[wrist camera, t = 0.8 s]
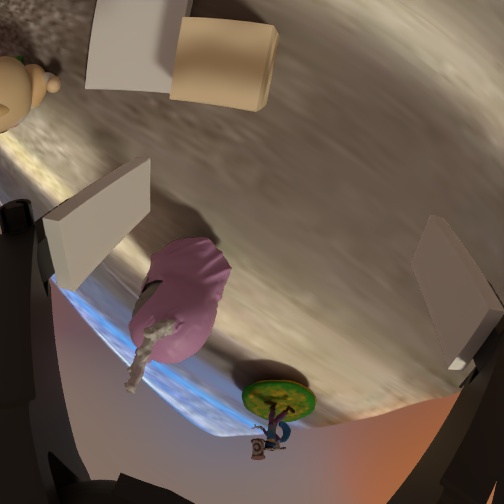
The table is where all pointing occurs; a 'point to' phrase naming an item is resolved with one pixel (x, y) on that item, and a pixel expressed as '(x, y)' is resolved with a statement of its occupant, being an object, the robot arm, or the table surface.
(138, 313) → the toy character
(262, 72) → the maple brick
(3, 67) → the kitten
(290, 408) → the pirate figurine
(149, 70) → the grey tile
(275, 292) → the table surface
